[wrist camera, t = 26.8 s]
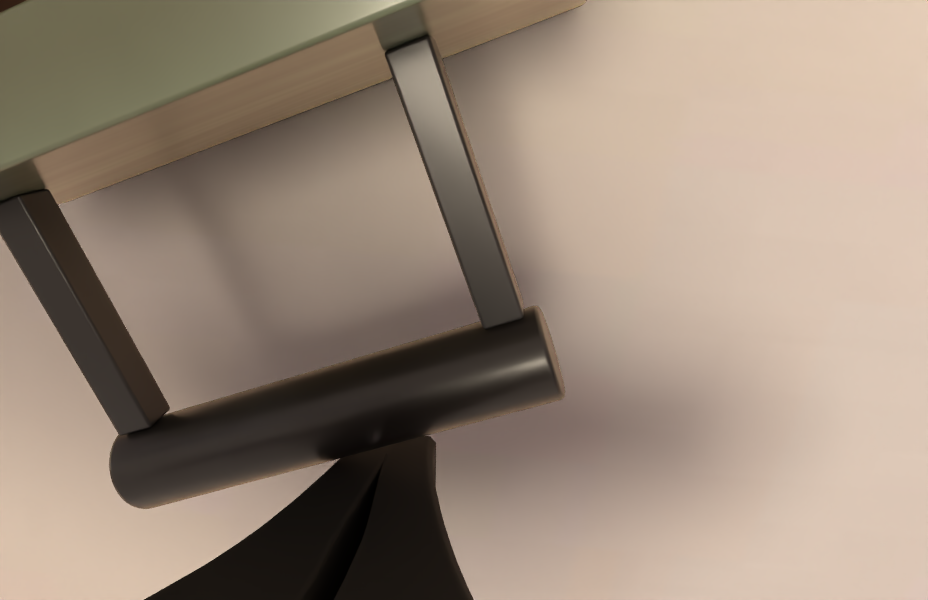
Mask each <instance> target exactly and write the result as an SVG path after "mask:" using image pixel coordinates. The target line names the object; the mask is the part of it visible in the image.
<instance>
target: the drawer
mask: <svg viewBox="0 0 928 600" xmlns="http://www.w3.org/2000/svg"><path fill="white" fill-rule="evenodd" d="M586 1H587V0H0V235H1V236H2V238H3V240H4V241H5V243H6V245H7V246H8V248H9V250H10V251H11V253H12V255H13V256H14V258H15V260H16V262H17V263H18V265H19V267H20V268H21V270H22V272H23V273H24V275H25V277H26V278H27V280H28V282H29V283H30V285H31V287H32V289H33V290H34V292H35V294H36V295H37V297H38V299H39V300H40V302H41V304H42V305H43V307H44V309H45V310H46V312H47V314H48V316H49V317H50V319H51V321H52V322H53V324H54V326H55V327H56V329H57V331H58V332H59V334H60V336H61V337H62V339H63V341H64V343H65V344H66V346H67V348H68V349H69V351H70V353H71V354H72V356H73V358H74V359H75V361H76V363H77V364H78V366H79V368H80V370H81V371H82V373H83V375H84V376H85V378H86V380H87V381H88V383H89V385H90V386H91V388H92V390H93V391H94V393H95V395H96V397H97V398H98V400H99V402H100V403H101V405H102V407H103V408H104V410H105V412H106V413H107V415H108V417H109V418H110V420H111V422H112V424H113V425H114V427H115V429H116V430H117V432H118V434H119V435H118V436H117V438H116V439H115V441H114V443H113V446H112V448H111V452H110V459H109V468H110V475H111V479H112V482H113V485H114V487H115V489H116V491H117V492H118V494H119V495H120V497H121V498H122V499H123V500H124V501H126V502H127V503H128V504H130V505H132V506H134V507H137V508H141V509H149V508H154V507H158V506H161V505H165V504H169V503H173V502H177V501H180V500H184V499H188V498H192V497H195V496H199V495H203V494H207V493H211V492H214V491H218V490H222V489H226V488H229V487H233V486H237V485H241V484H245V483H248V482H252V481H256V480H260V479H264V478H267V477H271V476H275V475H279V474H282V473H286V472H290V471H294V470H298V469H301V468H305V467H309V466H313V465H317V464H320V463H324V462H328V461H332V460H335V459H339V458H343V457H347V456H351V455H354V454H358V453H362V452H366V451H370V450H373V449H377V448H381V447H385V446H388V445H392V444H396V443H400V442H404V441H407V440H411V439H415V438H419V437H423V436H426V435H430V434H434V433H438V432H441V431H445V430H449V429H453V428H457V427H460V426H464V425H468V424H472V423H476V422H479V421H483V420H487V419H491V418H494V417H498V416H502V415H506V414H510V413H513V412H517V411H521V410H525V409H528V408H532V407H536V406H540V405H544V404H547V403H551V402H555V401H559V400H561V399H563V398H564V397H565V387H564V382H563V377H562V373H561V369H560V366H559V362H558V358H557V355H556V351H555V348H554V345H553V341H552V338H551V335H550V332H549V329H548V326H547V323H546V321H545V318H544V315H543V313H542V311H541V310H540V308H539V307H538V306H531V307H528V308H523V300H522V297H521V294H520V291H519V288H518V285H517V282H516V279H515V276H514V273H513V270H512V267H511V264H510V261H509V258H508V255H507V252H506V249H505V246H504V243H503V240H502V237H501V234H500V231H499V228H498V225H497V222H496V219H495V216H494V213H493V210H492V207H491V204H490V201H489V198H488V195H487V192H486V189H485V186H484V183H483V180H482V177H481V174H480V171H479V168H478V165H477V162H476V159H475V156H474V153H473V150H472V147H471V144H470V141H469V138H468V135H467V132H466V129H465V126H464V123H463V120H462V117H461V114H460V111H459V108H458V105H457V102H456V99H455V96H454V93H453V90H452V87H451V84H450V81H449V79H448V76H447V73H446V70H445V67H444V64H443V61H442V59H443V58H446V57H448V56H451V55H453V54H456V53H459V52H461V51H464V50H467V49H469V48H472V47H474V46H477V45H480V44H482V43H485V42H488V41H490V40H493V39H495V38H498V37H501V36H503V35H506V34H508V33H511V32H514V31H516V30H519V29H522V28H524V27H527V26H529V25H532V24H535V23H537V22H540V21H543V20H545V19H548V18H550V17H553V16H556V15H558V14H561V13H563V12H566V11H569V10H571V9H574V8H577V7H579V6H582V5H583V4H584V3H585V2H586ZM391 78H393V80H394V83H395V86H396V89H397V91H398V94H399V97H400V100H401V103H402V105H403V108H404V111H405V114H406V116H407V119H408V122H409V125H410V127H411V130H412V133H413V136H414V139H415V141H416V144H417V147H418V150H419V152H420V155H421V158H422V161H423V163H424V166H425V169H426V172H427V175H428V177H429V180H430V183H431V186H432V188H433V191H434V194H435V197H436V199H437V202H438V205H439V208H440V211H441V213H442V216H443V219H444V222H445V224H446V227H447V230H448V233H449V235H450V238H451V241H452V244H453V247H454V249H455V252H456V255H457V258H458V260H459V263H460V266H461V269H462V271H463V274H464V277H465V280H466V283H467V285H468V288H469V291H470V294H471V296H472V299H473V302H474V305H475V307H476V310H477V313H478V316H479V319H480V322H477V323H473V324H470V325H467V326H463V327H460V328H456V329H453V330H450V331H446V332H443V333H440V334H436V335H433V336H429V337H426V338H423V339H419V340H416V341H412V342H409V343H406V344H402V345H399V346H396V347H392V348H389V349H385V350H382V351H379V352H375V353H372V354H368V355H365V356H362V357H358V358H355V359H352V360H348V361H345V362H341V363H338V364H335V365H331V366H328V367H324V368H321V369H318V370H314V371H311V372H307V373H304V374H301V375H297V376H294V377H291V378H287V379H284V380H280V381H277V382H274V383H270V384H267V385H263V386H260V387H257V388H253V389H250V390H247V391H243V392H240V393H236V394H233V395H230V396H226V397H223V398H219V399H216V400H213V401H209V402H206V403H203V404H199V405H196V406H192V407H189V408H186V409H182V410H179V411H175V412H172V413H169V414H165V413H166V412H167V411H168V410H169V409H170V407H169V405H168V403H167V401H166V399H165V398H164V396H163V394H162V392H161V390H160V388H159V387H158V385H157V383H156V381H155V379H154V378H153V376H152V374H151V372H150V370H149V369H148V367H147V365H146V363H145V361H144V360H143V358H142V356H141V354H140V352H139V351H138V349H137V347H136V345H135V343H134V342H133V340H132V338H131V336H130V334H129V333H128V331H127V329H126V327H125V325H124V324H123V322H122V320H121V318H120V316H119V315H118V313H117V311H116V309H115V307H114V306H113V304H112V302H111V300H110V298H109V297H108V295H107V293H106V291H105V289H104V288H103V286H102V284H101V282H100V280H99V278H98V277H97V275H96V273H95V271H94V269H93V268H92V266H91V264H90V262H89V260H88V259H87V257H86V255H85V253H84V251H83V250H82V248H81V246H80V244H79V242H78V241H77V239H76V237H75V235H74V233H73V232H72V230H71V228H70V226H69V224H68V223H67V221H66V219H65V217H64V215H63V214H62V212H61V210H60V208H59V206H58V204H61V203H65V202H69V201H71V200H74V199H76V198H79V197H82V196H84V195H87V194H90V193H92V192H95V191H97V190H100V189H103V188H105V187H108V186H110V185H113V184H116V183H118V182H121V181H124V180H126V179H129V178H131V177H134V176H137V175H139V174H142V173H145V172H147V171H150V170H152V169H155V168H158V167H160V166H163V165H165V164H168V163H171V162H173V161H176V160H179V159H181V158H184V157H186V156H189V155H192V154H194V153H197V152H200V151H202V150H205V149H207V148H210V147H213V146H215V145H218V144H220V143H223V142H226V141H228V140H231V139H234V138H236V137H239V136H241V135H244V134H247V133H249V132H252V131H255V130H257V129H260V128H262V127H265V126H268V125H270V124H273V123H275V122H278V121H281V120H283V119H286V118H289V117H291V116H294V115H296V114H299V113H302V112H304V111H307V110H309V109H312V108H315V107H317V106H320V105H323V104H325V103H328V102H330V101H333V100H336V99H338V98H341V97H344V96H346V95H349V94H351V93H354V92H357V91H359V90H362V89H364V88H367V87H370V86H372V85H375V84H378V83H380V82H383V81H385V80H388V79H391ZM164 414H165V415H164Z"/></svg>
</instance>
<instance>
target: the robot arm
mask: <svg viewBox="0 0 928 600" xmlns="http://www.w3.org/2000/svg"><path fill="white" fill-rule="evenodd" d="M435 483H436V442H435V441H434V440H433V439H432V438H431V437H430V436H423V437H419V438H415V439H411V440H407V441H404V442H400V443H396V444H392V445H388V446H385V447H381V448H377V449H373V450H370V451H366V452H362V453H358V454H354V455H351V456H347V457H343V458H340V459H339V460H338V461H337V462H336V463H335V464H334V465H333V466H332V467H331V468H330V469H329V470H328V471H327V472H325V473H324V474H323V475H322V476H321V477H320V478H319V479H318V480H317V481H315V482H314V483H313V484H312V485H311V486H310V487H309V488H308V489H307V490H305V491H304V492H303V493H302V494H301V495H300V496H299V497H297V498H296V499H295V500H294V501H293V502H292V503H290V504H289V505H288V506H287V507H285V508H284V509H283V510H282V511H280V512H279V513H278V514H277V515H275V516H274V517H273V518H272V519H270V520H269V521H268V522H267V523H265V524H264V525H263V526H262V527H260V528H259V529H258V530H256V531H255V532H253V533H252V534H251V535H249V536H248V537H246V538H245V539H244V540H242V541H241V542H239V543H238V544H236V545H235V546H233V547H232V548H230V549H229V550H227V551H226V552H224V553H223V554H221V555H220V556H218V557H217V558H215V559H214V560H212V561H210V562H209V563H207V564H206V565H204V566H202V567H201V568H199V569H197V570H195V571H194V572H192V573H190V574H188V575H187V576H185V577H183V578H181V579H180V580H178V581H176V582H174V583H173V584H171V585H169V586H167V587H166V588H164V589H162V590H160V591H159V592H157V593H155V594H153V595H152V596H150V597H148V598H146V599H144V600H473V597H472V595H471V593H470V591H469V589H468V587H467V585H466V582H465V580H464V577H463V575H462V573H461V570H460V568H459V566H458V563H457V560H456V558H455V555H454V552H453V549H452V547H451V544H450V541H449V538H448V534H447V531H446V528H445V525H444V521H443V518H442V514H441V510H440V505H439V501H438V496H437V492H436V487H435Z"/></svg>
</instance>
